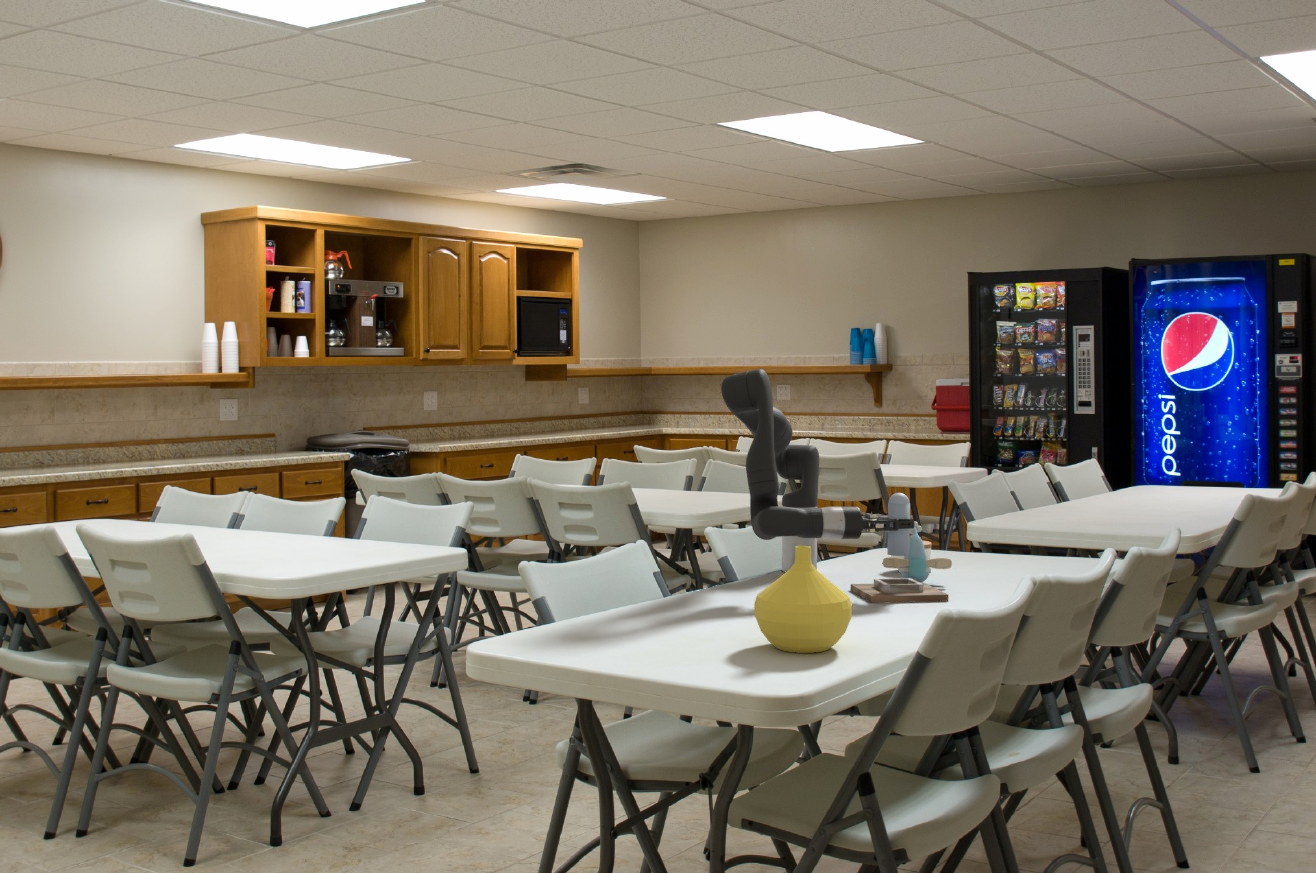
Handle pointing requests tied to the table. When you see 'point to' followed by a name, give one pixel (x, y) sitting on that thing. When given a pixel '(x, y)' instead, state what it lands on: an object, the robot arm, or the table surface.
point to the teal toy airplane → (916, 559)
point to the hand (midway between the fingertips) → (909, 522)
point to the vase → (803, 608)
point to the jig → (898, 591)
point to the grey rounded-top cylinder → (899, 538)
